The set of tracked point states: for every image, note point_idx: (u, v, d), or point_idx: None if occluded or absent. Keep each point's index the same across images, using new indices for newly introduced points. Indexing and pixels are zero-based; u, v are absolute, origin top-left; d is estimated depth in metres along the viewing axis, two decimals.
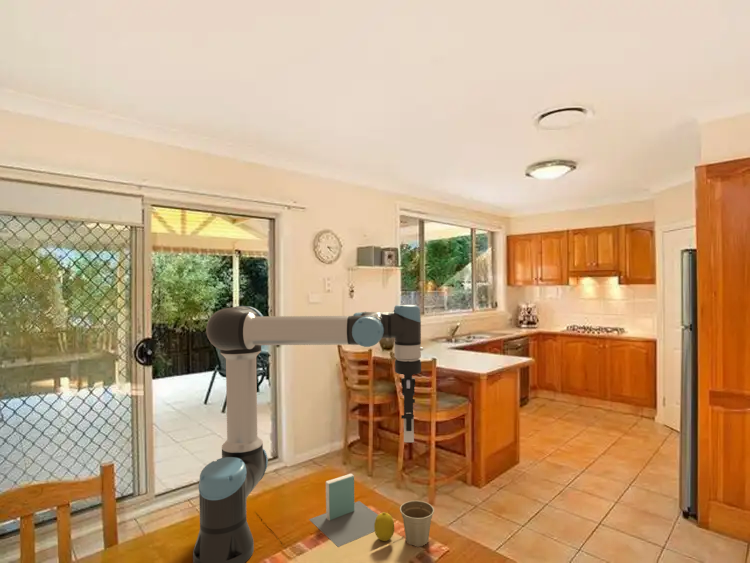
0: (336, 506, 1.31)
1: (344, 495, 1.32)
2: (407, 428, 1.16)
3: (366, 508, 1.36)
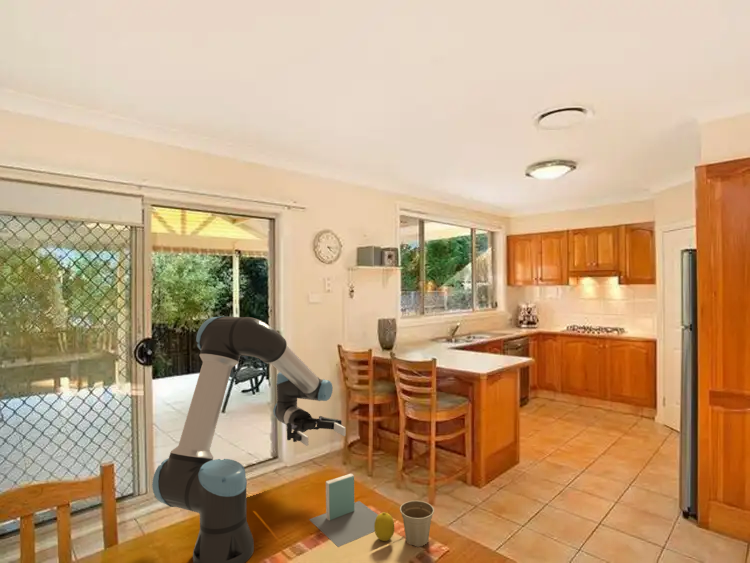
0: (336, 506, 1.31)
1: (344, 495, 1.32)
2: None
3: (366, 508, 1.36)
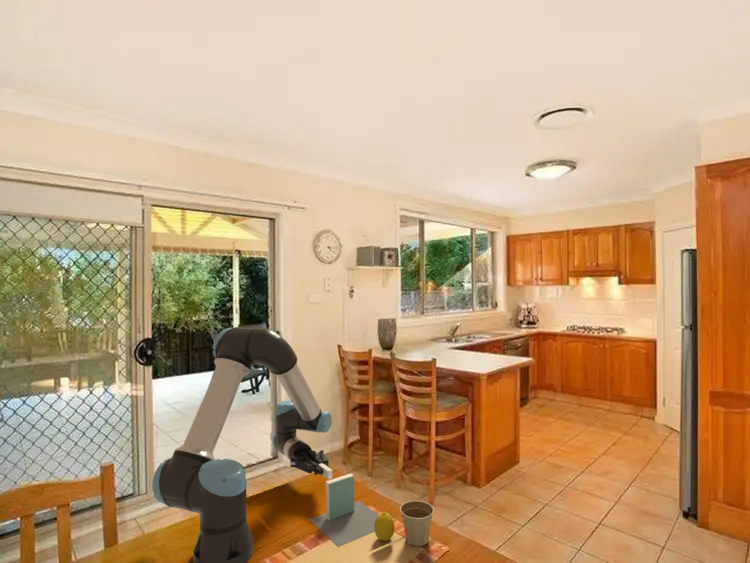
0: (336, 506, 1.31)
1: (344, 495, 1.32)
2: None
3: (366, 508, 1.36)
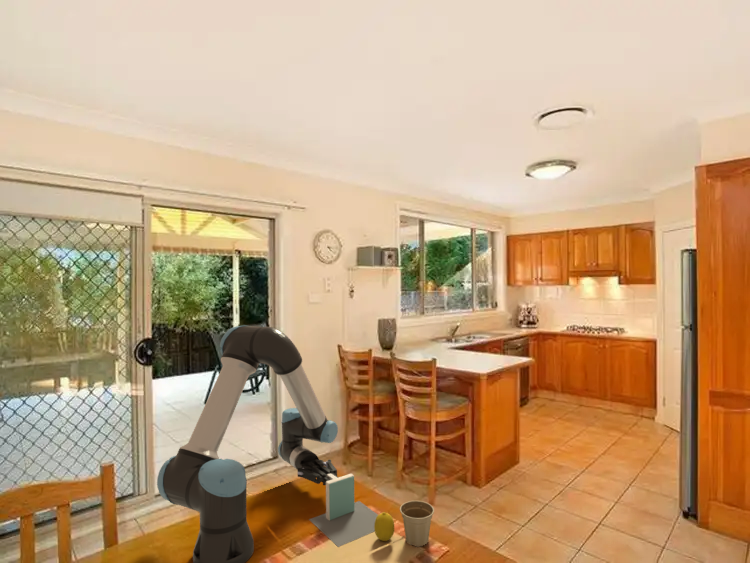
0: (336, 506, 1.31)
1: (345, 495, 1.32)
2: None
3: (366, 508, 1.36)
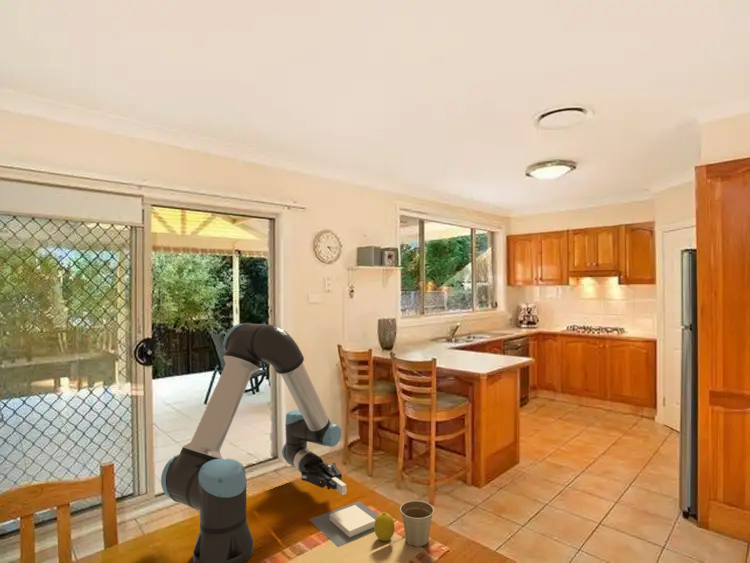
0: None
1: None
2: None
3: (366, 508, 1.36)
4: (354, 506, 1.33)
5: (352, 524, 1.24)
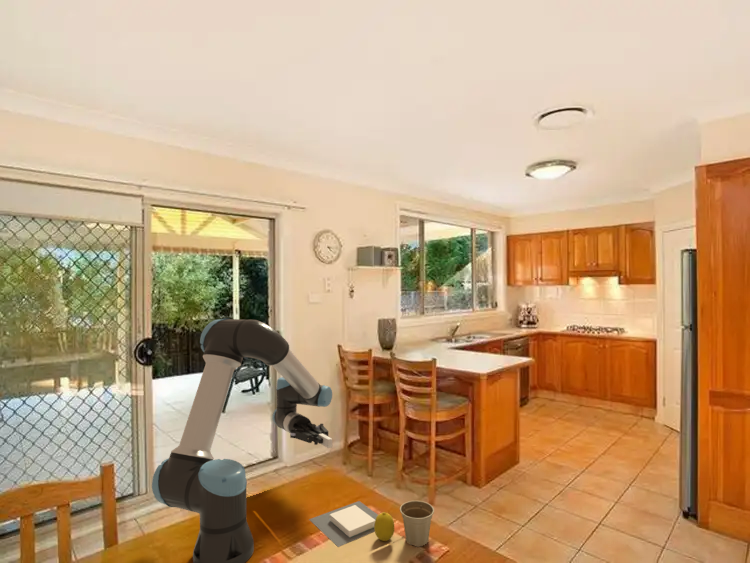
0: None
1: None
2: None
3: (366, 508, 1.36)
4: (354, 506, 1.33)
5: (352, 524, 1.24)
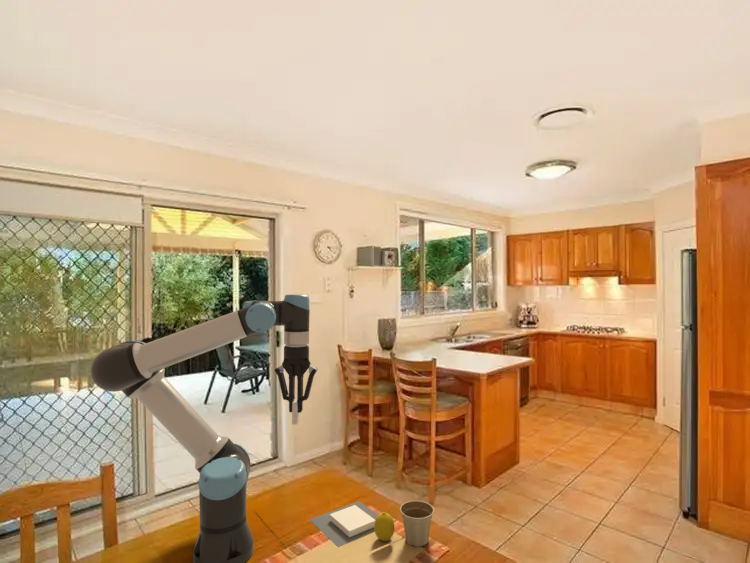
0: None
1: None
2: (301, 409, 1.32)
3: (366, 508, 1.36)
4: (354, 506, 1.33)
5: (352, 524, 1.24)
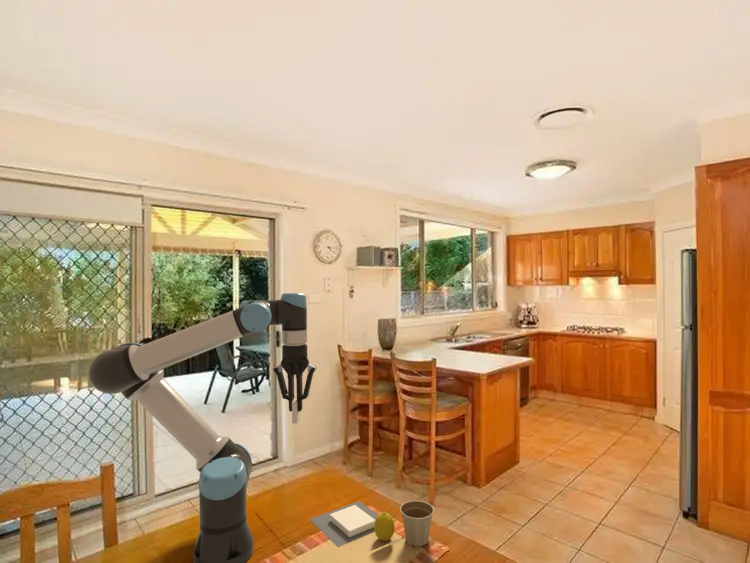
0: None
1: None
2: (301, 408, 1.31)
3: (366, 508, 1.36)
4: (354, 506, 1.33)
5: (352, 524, 1.24)
